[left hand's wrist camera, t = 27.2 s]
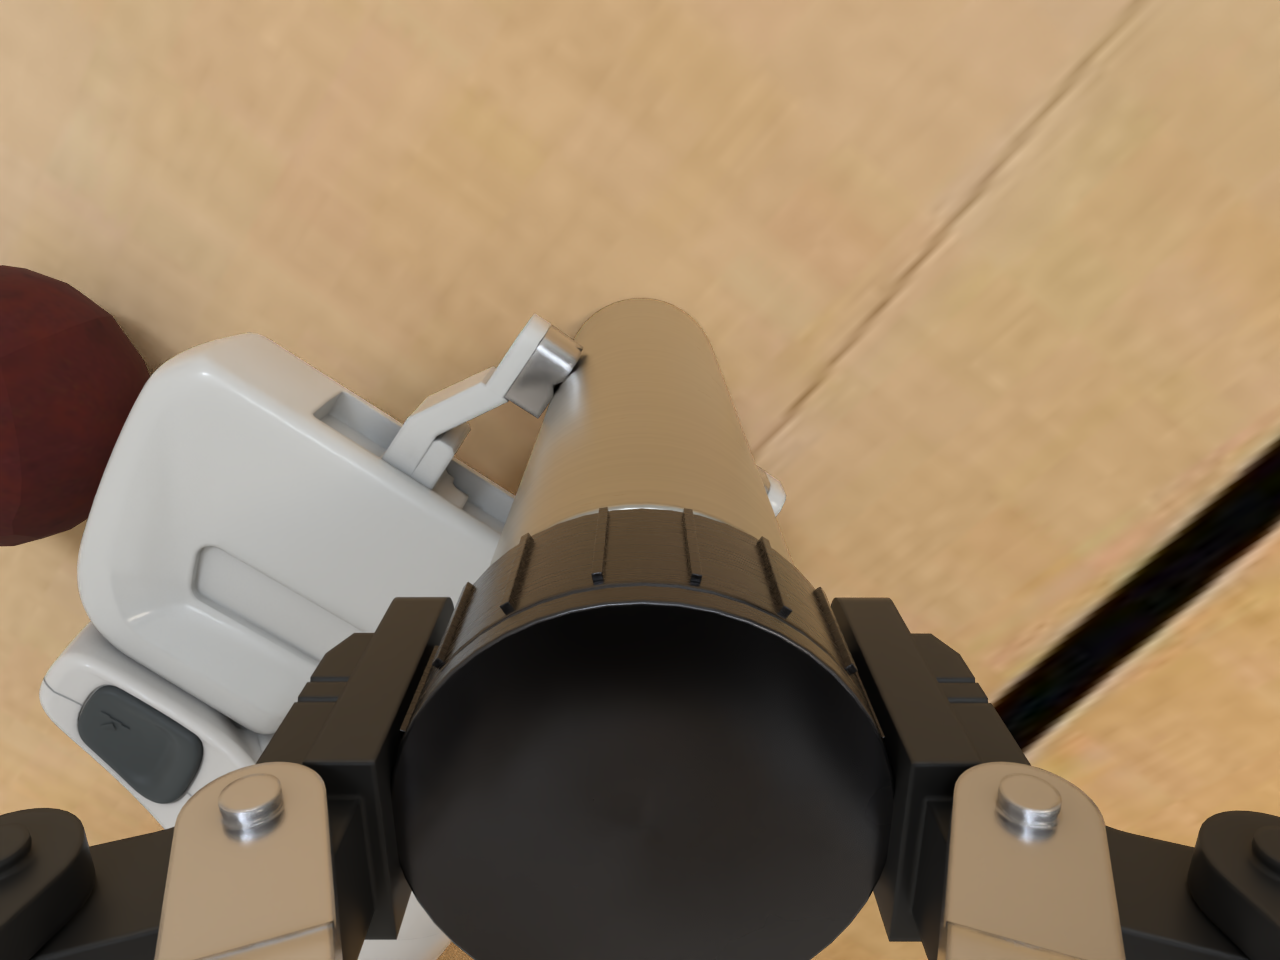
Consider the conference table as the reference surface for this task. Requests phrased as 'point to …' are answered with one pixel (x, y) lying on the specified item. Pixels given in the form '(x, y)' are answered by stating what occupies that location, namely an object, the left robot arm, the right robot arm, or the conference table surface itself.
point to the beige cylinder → (641, 432)
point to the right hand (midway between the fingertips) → (660, 403)
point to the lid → (642, 753)
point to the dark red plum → (57, 402)
